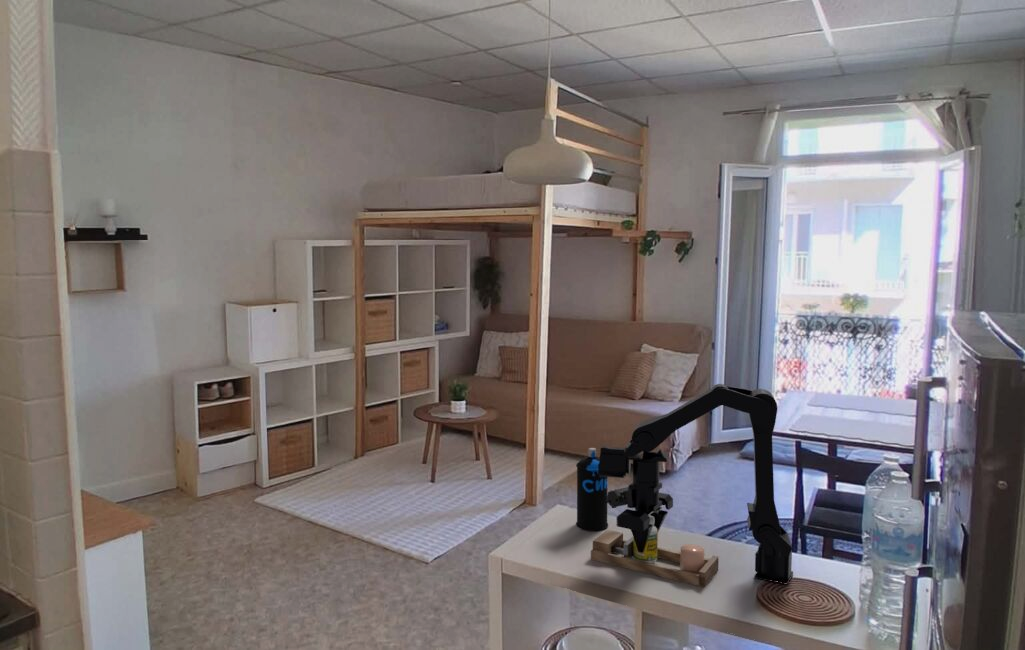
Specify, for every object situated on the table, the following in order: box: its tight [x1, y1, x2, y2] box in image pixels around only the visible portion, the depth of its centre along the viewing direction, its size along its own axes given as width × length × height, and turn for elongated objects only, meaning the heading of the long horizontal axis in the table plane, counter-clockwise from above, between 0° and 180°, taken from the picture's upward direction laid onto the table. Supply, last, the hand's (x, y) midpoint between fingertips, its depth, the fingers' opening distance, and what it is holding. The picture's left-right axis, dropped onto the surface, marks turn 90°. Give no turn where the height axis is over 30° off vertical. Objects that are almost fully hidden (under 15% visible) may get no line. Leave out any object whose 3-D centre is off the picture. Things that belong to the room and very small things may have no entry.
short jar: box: [679, 544, 706, 574], centre depth 149 cm, size 5×5×6 cm
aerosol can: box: [575, 447, 609, 532], centre depth 177 cm, size 8×8×20 cm
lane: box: [590, 529, 719, 588], centre depth 154 cm, size 26×10×4 cm, turn 57°
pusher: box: [611, 536, 634, 559], centre depth 158 cm, size 7×7×4 cm
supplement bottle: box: [632, 515, 659, 564], centre depth 154 cm, size 5×5×10 cm
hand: (645, 547), depth 155 cm, fingers closed on supplement bottle, 5 cm apart
